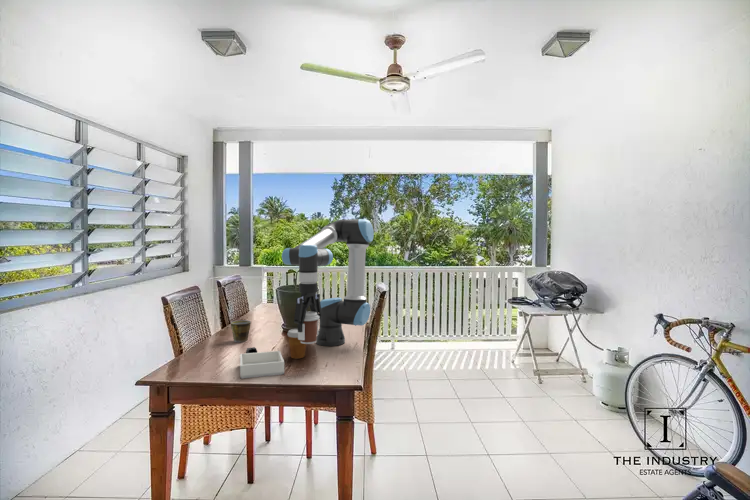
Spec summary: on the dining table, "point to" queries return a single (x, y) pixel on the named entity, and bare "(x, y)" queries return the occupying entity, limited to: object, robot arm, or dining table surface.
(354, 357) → the dining table surface
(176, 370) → the dining table surface
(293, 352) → the disposable coffee cup
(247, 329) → the ceramic cup
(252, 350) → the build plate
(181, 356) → the dining table surface
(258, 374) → the box
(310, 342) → the coffee cup
